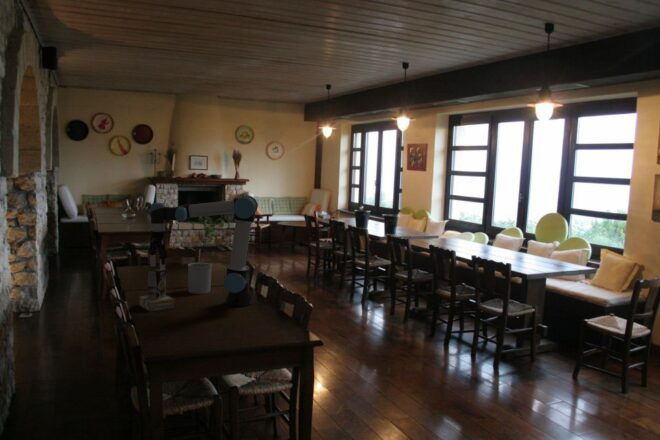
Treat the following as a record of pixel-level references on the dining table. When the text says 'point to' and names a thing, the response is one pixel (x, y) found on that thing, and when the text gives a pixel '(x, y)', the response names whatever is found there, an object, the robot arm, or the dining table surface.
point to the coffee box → (156, 284)
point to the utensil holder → (199, 278)
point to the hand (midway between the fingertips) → (157, 268)
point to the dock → (156, 303)
